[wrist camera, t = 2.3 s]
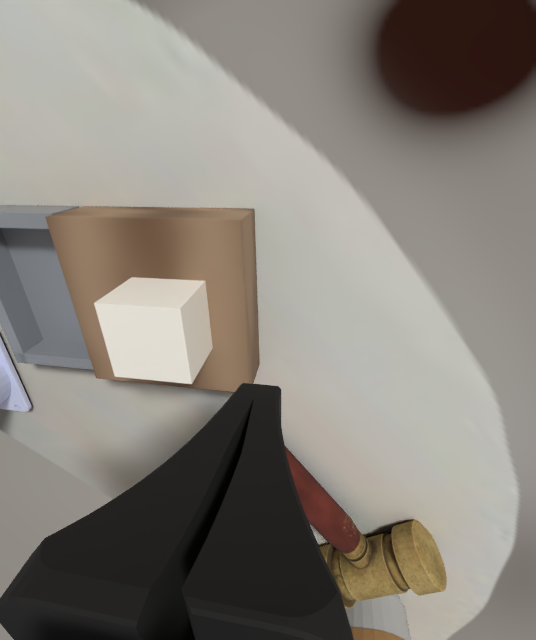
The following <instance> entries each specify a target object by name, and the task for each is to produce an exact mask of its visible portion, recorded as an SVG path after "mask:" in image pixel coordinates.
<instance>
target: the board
mask: <svg viewBox="0 0 536 640" xmlns="http://www.w3.org/2000/svg"><path fill="white" fill-rule="evenodd" d="M45 218H46V221H47V224H48V228H49V231H50V234H51V237H52V240H53V243H54V247H55V250H56V253H57V256H58V259H59V262H60V265H61V269H62V272H63V275H64V278H65V281H66V284H67V288H68V291H69V294H70V297H71V300H72V303H73V306H74V310H75V313H76V316H77V319H78V322H79V325H80V329H81V332H82V335H83V338H84V341H85V344H86V347H87V351H88V354H89V357H90V360H91V363H92V366H93V370H94V373H95V376H96V378H99V379H109V380H119V381H129V382H139V383H149V384H159V385H169V386H179V387H189V388H199V389H209V390H219V391H229V392H235V391H236V390H237V388H238V387H239V386H240V385H241V384H242V383H249V384H253V383H254V380H255V377H256V373H257V370H258V367H259V334H258V304H257V275H256V245H255V215H254V209H236V208H163V207H89V206H84V207H80V208H76V209H72V210H69V211H65V212H61V213H57V214H54V215H50V216H46V217H45ZM131 277H137V278H158V279H178V280H199V281H205V283H206V292H207V301H208V310H209V319H210V328H211V337H212V346H213V348H212V350H211V352H210V354H209V355H208V357H207V359H206V361H205V362H204V364H203V366H202V367H201V369H200V371H199V373H198V374H197V376H196V378H195V380H194V381H193V383H192V384H185V383H175V382H165V381H154V380H144V379H134V378H124V377H115V376H114V372H113V369H112V365H111V361H110V358H109V354H108V351H107V347H106V344H105V340H104V337H103V333H102V330H101V326H100V323H99V319H98V316H97V312H96V309H95V305H94V303H95V302H96V301H98V300H99V299H101V298H102V297H104V296H105V295H107V294H108V293H109V292H111V291H112V290H114V289H115V288H117V287H118V286H120V285H121V284H123V283H124V282H126V281H127V280H128V279H130V278H131Z"/></svg>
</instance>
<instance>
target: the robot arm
mask: <svg viewBox="0 0 536 640" xmlns="http://www.w3.org/2000/svg"><path fill="white" fill-rule="evenodd" d="M31 407H32V406H31V403H30V401H29V399H28V397H27V394H26V392H25V390H24V388H23V385H22V383H21V381H20V379H19V377H18V374H17V372H16V370H15V368H14V366H13V363H12V361H11V359H10V357H9V354H8V352H7V350H6V348H5V346H4V343H3V341H2V339H1V337H0V409H6V410H15V411H23V412H27V411H29V410H30V409H31ZM0 623H1V624H2V626H3V627H4V628H5V629H6V631H7V632H8V633H9V634H10V635H11V637H12V638H13V639H14V640H354V639H353V635H352V631H351V627H350V624H349V620H348V617H347V613H346V610H345V607H344V604H343V600H342V597H341V593H340V590H339V587H338V585H337V583H336V581H335V579H334V577H333V575H332V573H331V571H330V569H329V567H328V565H327V563H326V561H325V559H324V557H323V554H322V552H321V550H320V548H319V545H318V543H317V541H316V539H315V536H314V534H313V532H312V529H311V527H310V524H309V522H308V519H307V516H306V514H305V511H304V509H303V506H302V504H301V501H300V498H299V495H298V492H297V489H296V486H295V483H294V480H293V477H292V473H291V470H290V466H289V462H288V459H287V454H286V450H285V446H284V441H283V435H282V429H281V389H280V388H279V387H278V386H270V385H260V384H249V383H242V384H241V385H240V386H239V387H238V388H237V390H236V391H235V392H234V393H233V395H232V396H231V397H230V398H229V400H228V401H227V402H226V403H225V404H224V405H223V407H222V408H221V409H220V410H219V411H218V412H217V413H216V414H215V415H214V417H213V418H212V419H211V420H210V421H209V422H208V423H207V424H206V425H205V426H204V427H203V428H202V429H201V430H200V431H199V432H198V433H197V434H196V435H195V436H194V437H193V438H192V439H191V440H190V441H189V442H188V443H187V444H186V445H185V446H183V447H182V448H181V449H180V450H179V451H178V452H177V453H176V454H174V455H173V456H172V457H171V458H170V459H168V460H167V461H166V462H165V463H164V464H162V465H161V466H160V467H159V468H157V469H156V470H155V471H153V472H152V473H151V474H149V475H148V476H147V477H145V478H144V479H143V480H141V481H140V482H139V483H137V484H136V485H134V486H133V487H131V488H130V489H129V490H127V491H125V492H124V493H122V494H121V495H119V496H118V497H116V498H115V499H113V500H111V501H110V502H108V503H107V504H105V505H104V506H102V507H101V508H99V509H97V510H96V511H94V512H92V513H90V514H89V515H87V516H85V517H83V518H82V519H80V520H78V521H76V522H75V523H72V524H71V525H69V526H67V527H66V528H63V529H61V530H60V531H58V532H56V533H54V534H52V535H50V536H48V537H46V538H45V539H44V540H43V541H42V542H41V544H40V545H39V546H38V547H37V549H36V550H35V551H34V552H33V553H32V555H31V556H30V557H29V559H28V560H27V562H26V563H25V564H24V566H23V567H22V569H21V570H20V572H19V573H18V574H17V576H16V577H15V579H14V580H13V581H12V583H11V584H10V585H9V587H8V588H7V590H6V591H5V592H4V594H3V595H2V597H1V598H0Z"/></svg>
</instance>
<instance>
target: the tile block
mask: <svg viewBox="0 0 536 640" xmlns="http://www.w3.org/2000/svg"><path fill="white" fill-rule="evenodd" d="M94 305H95V309H96V312H97V316H98V319H99V323H100V326H101V330H102V333H103V337H104V340H105V344H106V347H107V351H108V354H109V358H110V361H111V365H112V369H113V372H114V376H115V377H124V378H134V379H144V380H154V381H165V382H175V383H185V384H192V383H193V381H194V380H195V378H196V376H197V374H198V373H199V371H200V369H201V367H202V366H203V364H204V362H205V361H206V359H207V357H208V355H209V354H210V352H211V350H212V348H213V346H212V337H211V328H210V319H209V310H208V301H207V292H206V283H205V281H199V280H178V279H158V278H137V277H131V278H130V279H128V280H127V281H126V282H124V283H123V284H121V285H120V286H118V287H117V288H115V289H114V290H112V291H111V292H109V293H108V294H107V295H105V296H104V297H102V298H101V299H99V300H98V301H96V302H95V303H94Z"/></svg>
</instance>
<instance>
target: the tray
mask: <svg viewBox="0 0 536 640" xmlns="http://www.w3.org/2000/svg"><path fill="white" fill-rule="evenodd" d="M76 208H79V206H15V205H0V324H1V326H2V329H3V331H4V333H5V335H6V338H7V340H8V342H9V344H10V347H11V349H12V351H13V354H14V356H15V358H16V360H17V362H18V363H29V364H39V365H49V366H60V367H70V368H81V369H91V370H93V366H92V363H91V360H90V357H89V354H88V351H87V347H86V344H85V341H84V338H83V335H82V332H81V329H80V325H79V322H78V319H77V316H76V313H75V310H74V306H73V303H72V300H71V297H70V294H69V291H68V288H67V284H66V281H65V278H64V275H63V272H62V269H61V265H60V262H59V259H58V256H57V253H56V250H55V247H54V243H53V240H52V237H51V234H50V231H49V228H48V224H47V221H46V218H45V217H46V216H50V215H54V214H57V213H61V212H65V211H69V210H72V209H76Z"/></svg>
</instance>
